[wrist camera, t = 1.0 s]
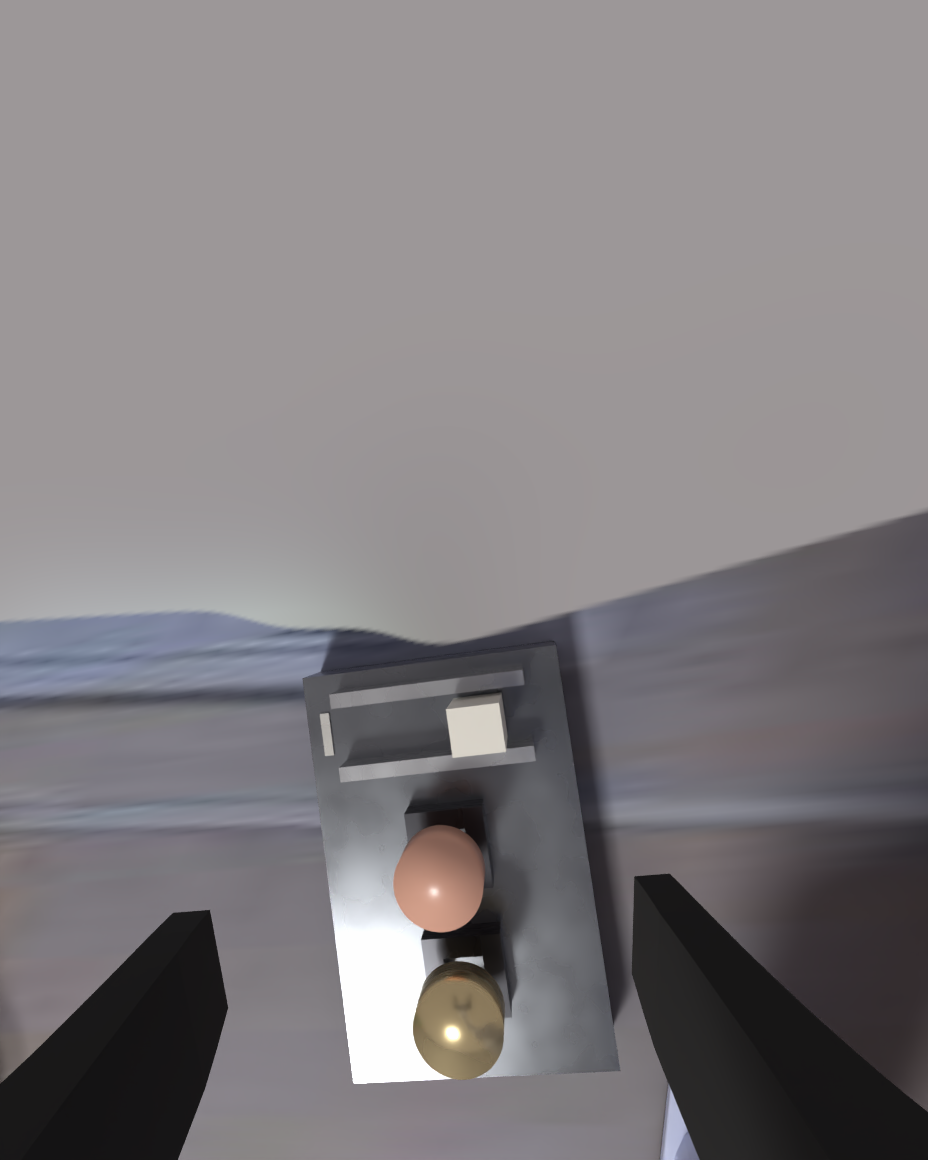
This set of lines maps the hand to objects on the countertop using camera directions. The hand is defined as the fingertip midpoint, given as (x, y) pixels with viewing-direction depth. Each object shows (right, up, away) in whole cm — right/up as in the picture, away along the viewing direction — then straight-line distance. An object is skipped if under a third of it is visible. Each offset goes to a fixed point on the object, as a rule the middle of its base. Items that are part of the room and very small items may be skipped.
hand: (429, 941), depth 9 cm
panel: (0, -6, +15) cm, 16 cm away
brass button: (+1, -10, +11) cm, 15 cm away
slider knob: (+1, +1, +13) cm, 13 cm away
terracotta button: (0, -5, +12) cm, 13 cm away
